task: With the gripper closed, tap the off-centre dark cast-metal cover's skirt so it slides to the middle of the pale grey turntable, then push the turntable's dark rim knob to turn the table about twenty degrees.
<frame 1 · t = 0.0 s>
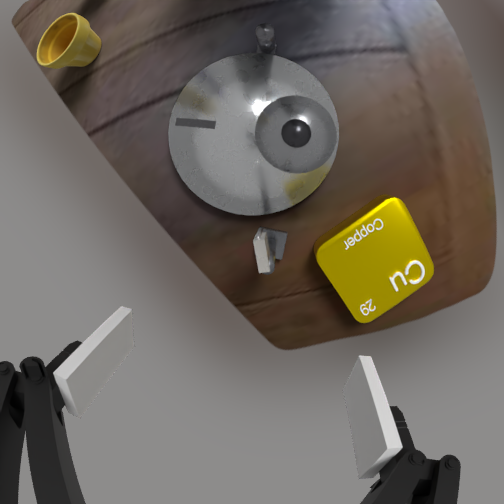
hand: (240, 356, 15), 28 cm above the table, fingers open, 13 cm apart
turntable: (251, 117, 33), point 4 cm above the table, hinge at 0.0°, touching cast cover
element tile: (372, 255, 41), on the table
plant pot: (88, 52, 35), on the table
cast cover: (294, 137, 35), point 2 cm above the table, touching turntable
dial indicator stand: (271, 242, 42), on the table
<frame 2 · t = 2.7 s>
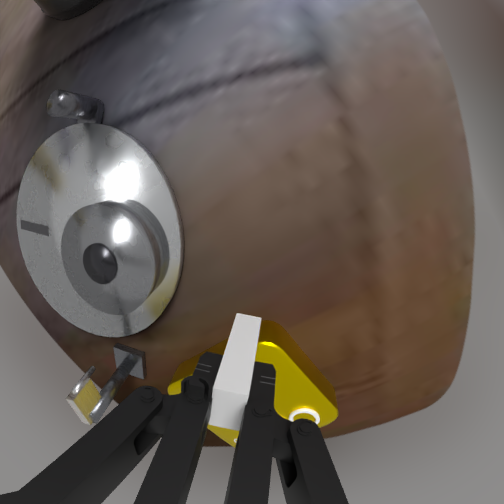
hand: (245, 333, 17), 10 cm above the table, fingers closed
turntable: (66, 230, 23), point 4 cm above the table, hinge at 0.0°, touching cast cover
element tile: (256, 383, 31), on the table
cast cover: (123, 249, 25), point 2 cm above the table, touching turntable
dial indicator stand: (131, 359, 32), on the table
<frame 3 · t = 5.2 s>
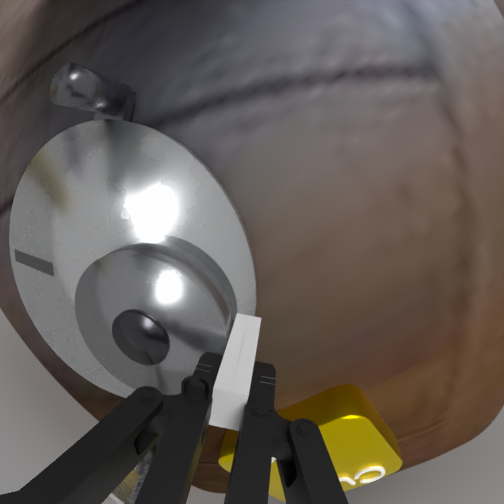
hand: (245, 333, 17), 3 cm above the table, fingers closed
turntable: (81, 277, 17), point 4 cm above the table, hinge at 0.0°, touching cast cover
element tile: (315, 440, 24), on the table
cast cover: (165, 306, 18), point 2 cm above the table, touching gripper, turntable
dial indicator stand: (167, 420, 25), on the table
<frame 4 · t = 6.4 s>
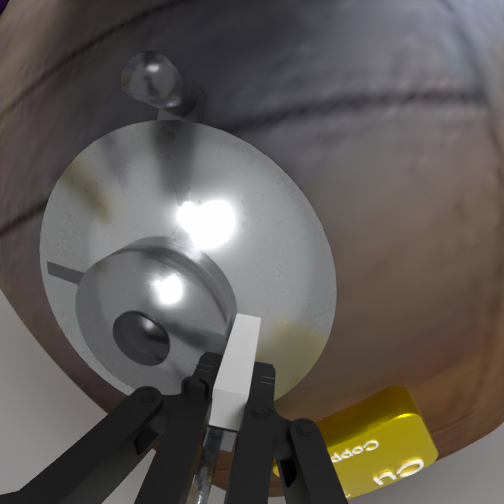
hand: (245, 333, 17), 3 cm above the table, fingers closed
turntable: (145, 296, 16), point 4 cm above the table, hinge at 0.1°, touching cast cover
element tile: (359, 440, 24), on the table
potion bottle: (0, 8, 12), on the table
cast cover: (166, 306, 19), point 2 cm above the table, touching gripper, turntable
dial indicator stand: (216, 432, 24), on the table
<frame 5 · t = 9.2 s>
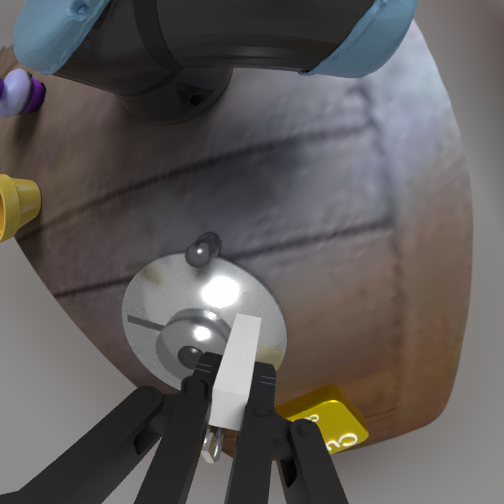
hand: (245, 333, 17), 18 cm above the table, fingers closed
turntable: (194, 337, 35), point 4 cm above the table, hinge at 0.1°, touching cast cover
element tile: (314, 418, 43), on the table
potion bottle: (37, 97, 31), on the table
plant pot: (31, 199, 36), on the table
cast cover: (199, 339, 37), point 2 cm above the table, touching turntable
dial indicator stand: (225, 408, 43), on the table
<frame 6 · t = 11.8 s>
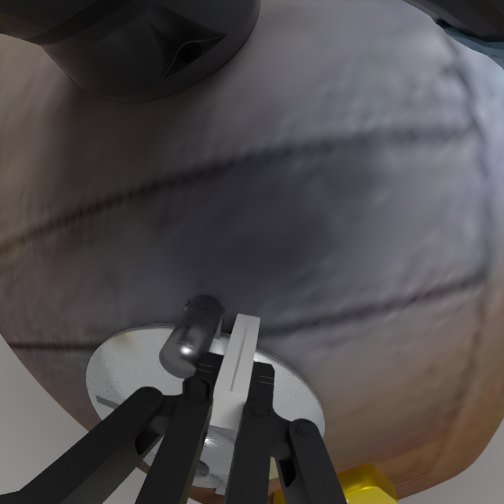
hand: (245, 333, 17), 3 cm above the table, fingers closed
turntable: (191, 439, 20), point 4 cm above the table, hinge at 2.3°, touching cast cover, gripper
element tile: (337, 490, 28), on the table
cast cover: (198, 433, 22), point 2 cm above the table, touching turntable
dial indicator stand: (231, 486, 28), on the table
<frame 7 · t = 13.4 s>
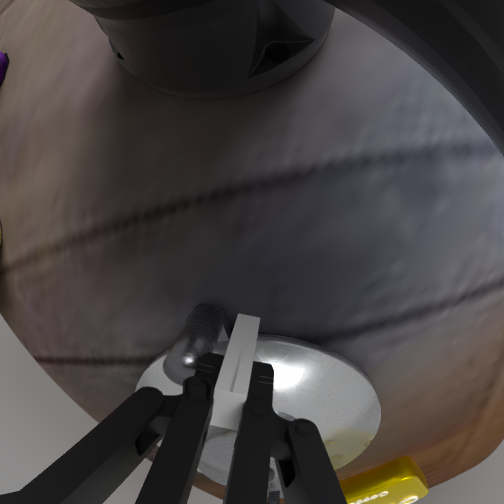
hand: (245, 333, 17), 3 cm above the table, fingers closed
turntable: (248, 446, 20), point 4 cm above the table, hinge at 24.7°, touching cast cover, gripper
element tile: (373, 483, 28), on the table
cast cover: (257, 439, 22), point 2 cm above the table, touching turntable
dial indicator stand: (274, 487, 28), on the table
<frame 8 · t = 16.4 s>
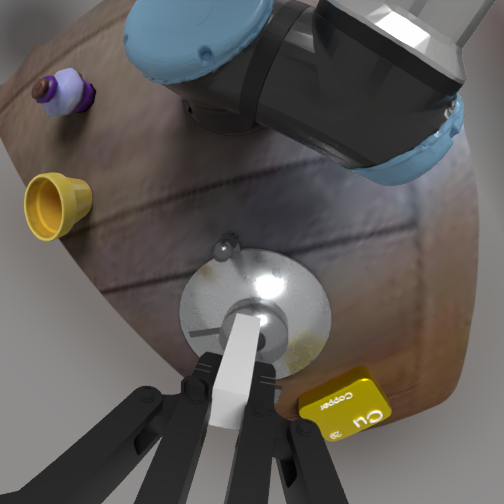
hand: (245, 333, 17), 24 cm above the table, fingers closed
turntable: (249, 324, 41), point 4 cm above the table, hinge at 24.7°, touching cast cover
element tile: (344, 399, 49), on the table
potion bottle: (84, 98, 36), on the table
plant pot: (80, 198, 42), on the table
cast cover: (255, 326, 43), point 2 cm above the table, touching turntable
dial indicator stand: (268, 391, 49), on the table
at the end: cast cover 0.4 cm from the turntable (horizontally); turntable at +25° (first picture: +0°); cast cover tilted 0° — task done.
